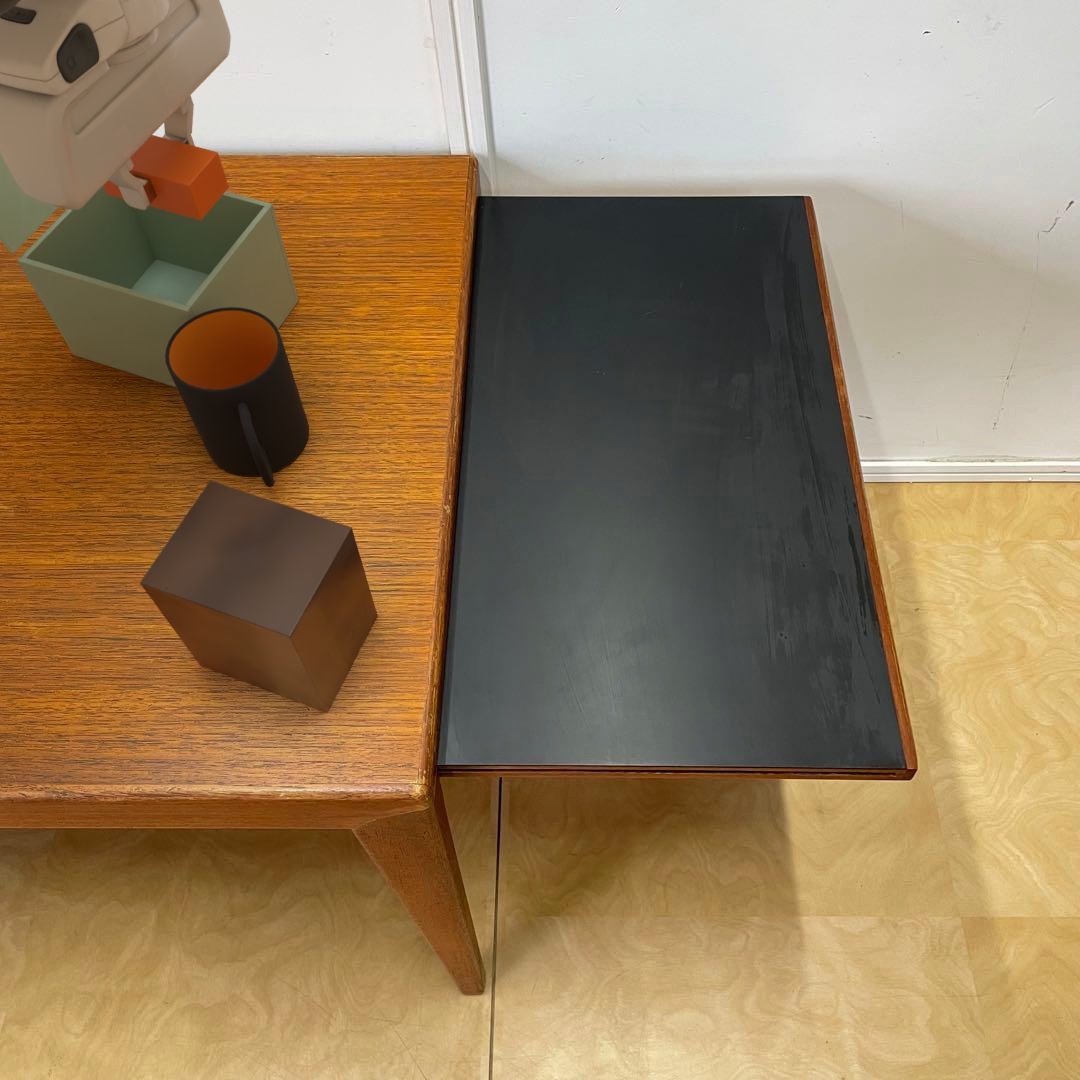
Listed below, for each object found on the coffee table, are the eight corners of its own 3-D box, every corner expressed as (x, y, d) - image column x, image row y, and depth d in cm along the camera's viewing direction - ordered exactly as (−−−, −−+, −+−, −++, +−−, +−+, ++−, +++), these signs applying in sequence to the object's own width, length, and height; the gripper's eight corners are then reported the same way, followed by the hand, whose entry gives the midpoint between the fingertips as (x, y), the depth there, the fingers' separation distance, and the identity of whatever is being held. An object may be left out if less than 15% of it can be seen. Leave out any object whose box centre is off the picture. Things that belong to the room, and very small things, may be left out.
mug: (226, 527, 71) (184, 444, 62) (198, 413, 76) (155, 323, 68) (332, 495, 72) (305, 411, 63) (296, 386, 78) (267, 295, 69)
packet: (106, 194, 68) (89, 158, 65) (136, 162, 70) (121, 126, 67) (201, 221, 66) (188, 185, 64) (229, 187, 68) (218, 151, 66)
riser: (199, 665, 65) (139, 582, 54) (256, 572, 69) (209, 479, 58) (327, 713, 63) (289, 637, 53) (378, 615, 67) (352, 527, 57)
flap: (13, 253, 70) (11, 253, 70) (111, 154, 76) (109, 154, 77) (-63, 166, 65) (-65, 167, 65) (49, 67, 71) (47, 68, 71)
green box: (73, 355, 79) (16, 260, 71) (156, 258, 86) (113, 160, 77) (225, 403, 77) (186, 311, 68) (299, 300, 83) (272, 203, 74)
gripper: (138, -104, 61) (200, 92, 73) (-70, 62, 51) (41, 258, 63) (221, -86, 60) (271, 110, 72) (26, 87, 50) (121, 281, 62)
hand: (162, 180), depth 67 cm, fingers closed on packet, 4 cm apart
